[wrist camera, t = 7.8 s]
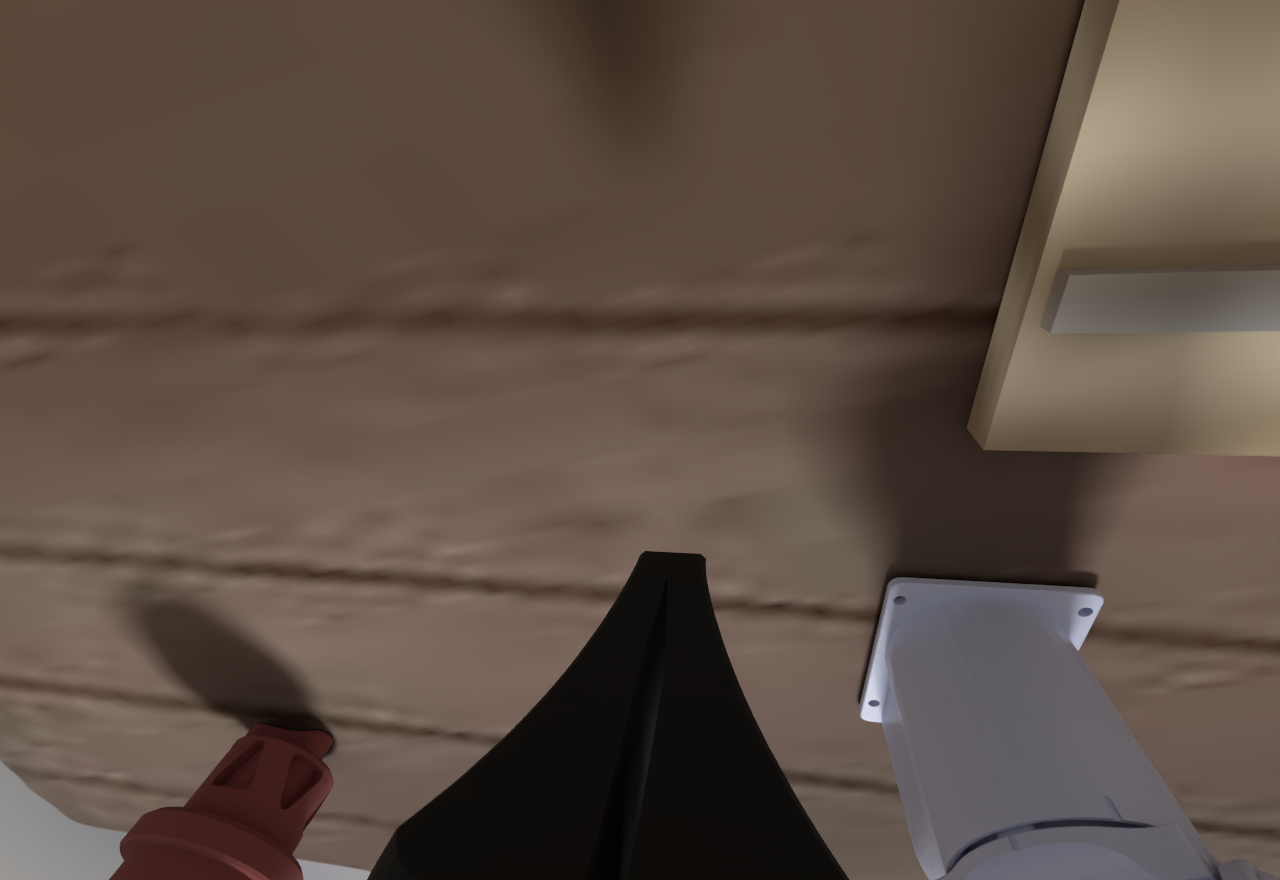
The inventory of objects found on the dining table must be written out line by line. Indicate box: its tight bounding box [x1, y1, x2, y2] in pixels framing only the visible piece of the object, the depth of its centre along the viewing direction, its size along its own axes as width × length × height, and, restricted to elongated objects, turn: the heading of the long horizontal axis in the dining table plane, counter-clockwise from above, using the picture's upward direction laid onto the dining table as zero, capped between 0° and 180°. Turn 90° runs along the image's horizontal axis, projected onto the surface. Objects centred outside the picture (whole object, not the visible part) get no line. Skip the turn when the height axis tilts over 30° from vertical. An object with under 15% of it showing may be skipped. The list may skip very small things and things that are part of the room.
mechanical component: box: [109, 723, 334, 880], centre depth 33 cm, size 12×10×10 cm
